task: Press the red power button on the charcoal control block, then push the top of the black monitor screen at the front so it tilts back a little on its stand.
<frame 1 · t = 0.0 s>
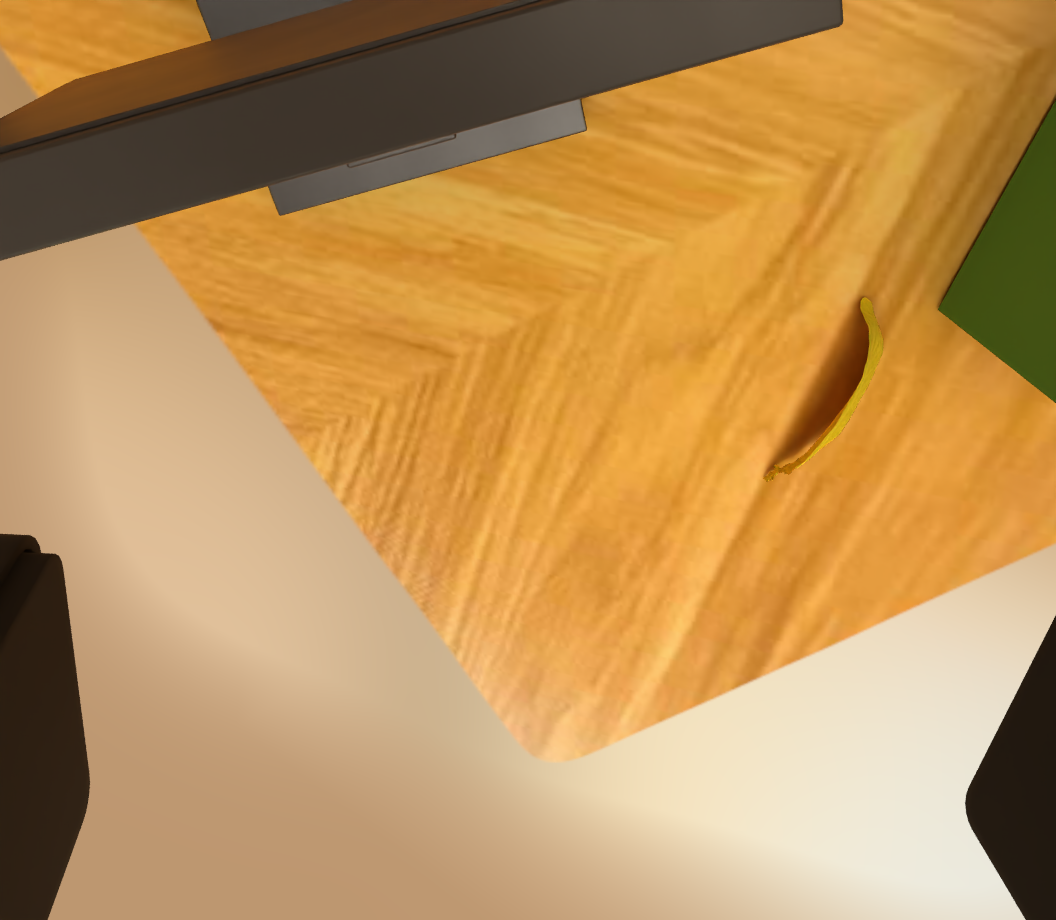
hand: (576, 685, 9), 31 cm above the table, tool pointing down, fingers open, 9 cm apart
monitor screen: (360, 59, 21), point 15 cm above the table, hinge at 0.0°
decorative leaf: (826, 396, 44), on the table
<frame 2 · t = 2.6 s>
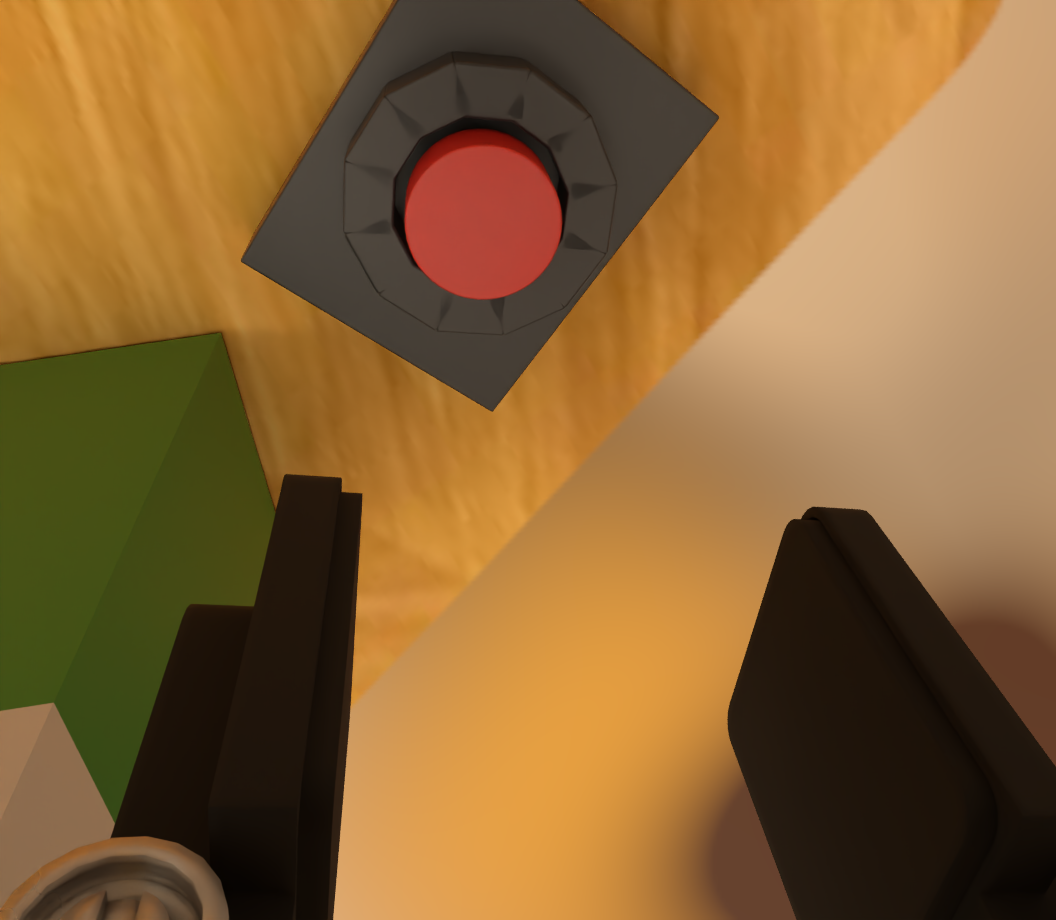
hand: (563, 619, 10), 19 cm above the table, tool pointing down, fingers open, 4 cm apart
power block: (472, 168, 27), on the table
power button: (481, 214, 23), point 4 cm above the table, slide at 0.1 cm
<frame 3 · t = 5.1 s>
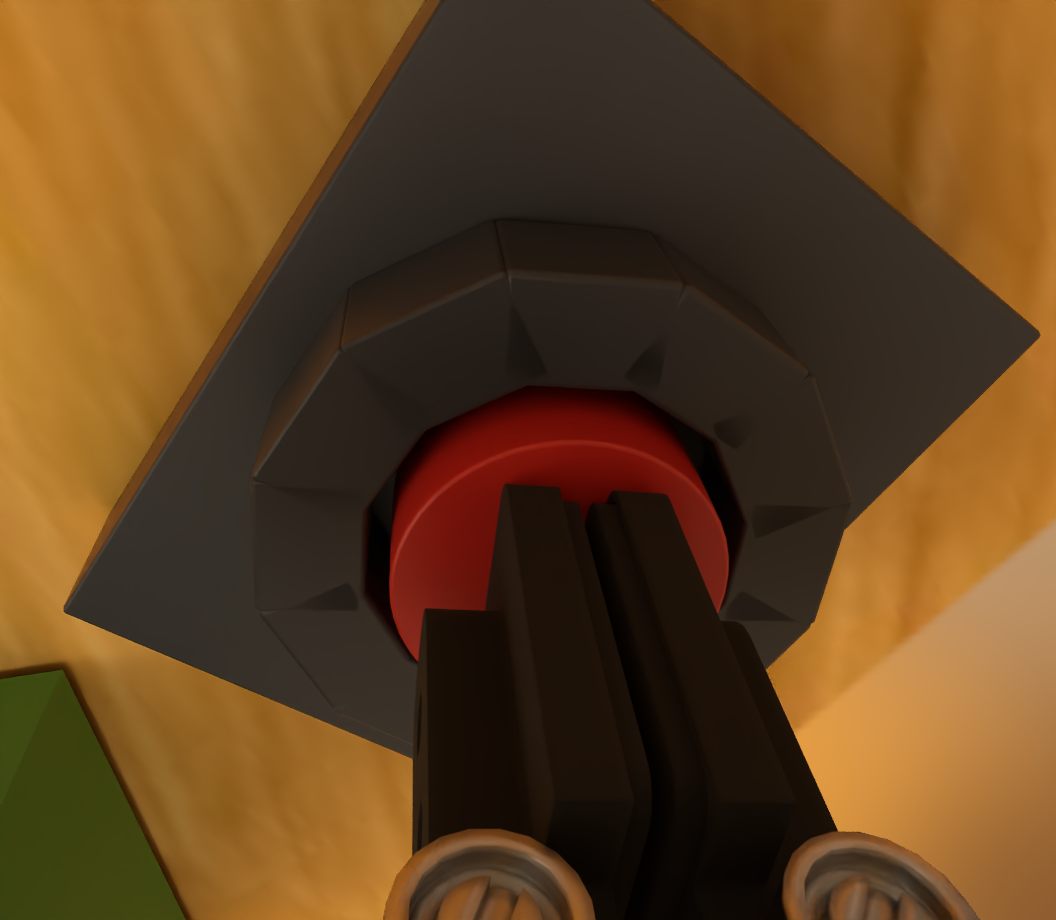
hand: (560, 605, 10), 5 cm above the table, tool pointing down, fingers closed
power block: (521, 395, 14), on the table
power button: (552, 542, 11), point 4 cm above the table, slide at -0.7 cm, touching gripper
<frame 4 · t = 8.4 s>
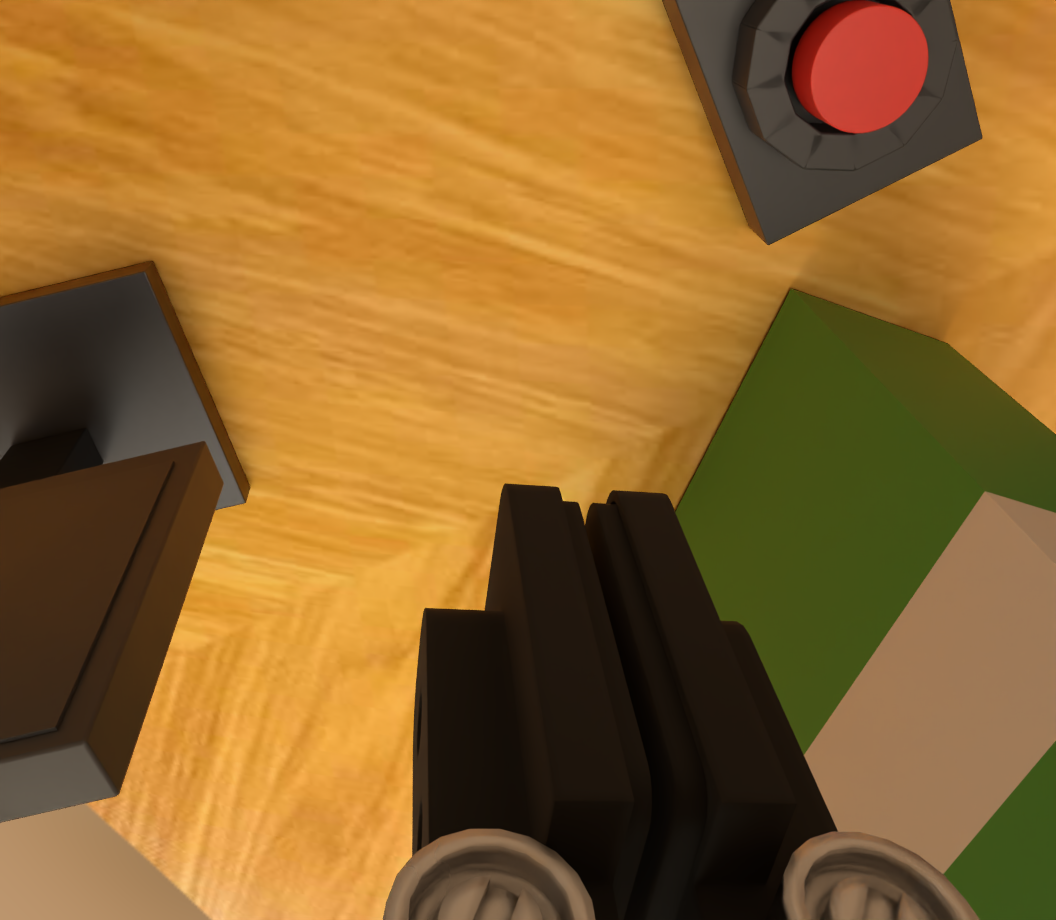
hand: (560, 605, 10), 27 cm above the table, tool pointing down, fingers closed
hardback book: (768, 493, 43), on the table
monitor stand: (44, 394, 37), on the table
power block: (807, 47, 33), on the table
power button: (858, 67, 30), point 4 cm above the table, slide at 0.1 cm
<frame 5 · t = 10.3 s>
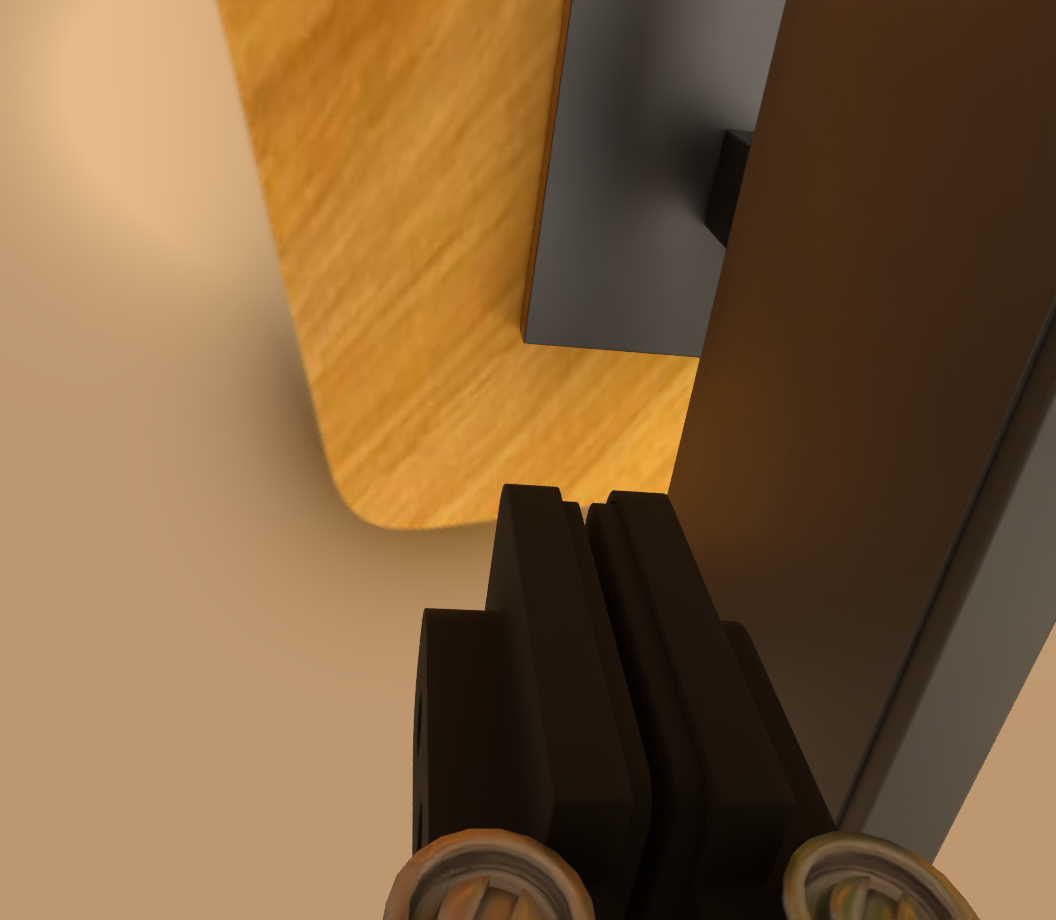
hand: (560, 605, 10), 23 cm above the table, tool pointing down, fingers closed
monitor screen: (855, 358, 18), point 15 cm above the table, hinge at 0.0°
monitor stand: (667, 164, 31), on the table
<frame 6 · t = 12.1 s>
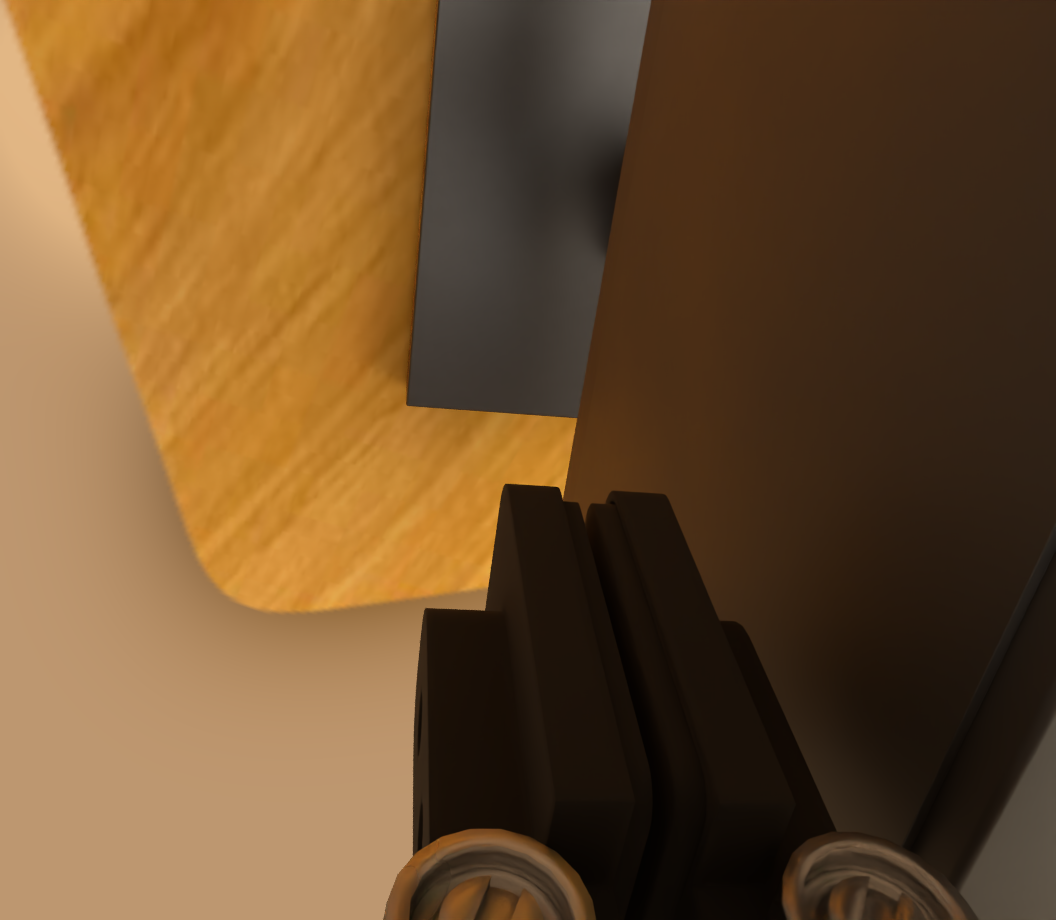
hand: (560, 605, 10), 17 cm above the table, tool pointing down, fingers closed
monitor screen: (748, 501, 13), point 15 cm above the table, hinge at 3.6°, touching gripper
monitor stand: (574, 195, 26), on the table
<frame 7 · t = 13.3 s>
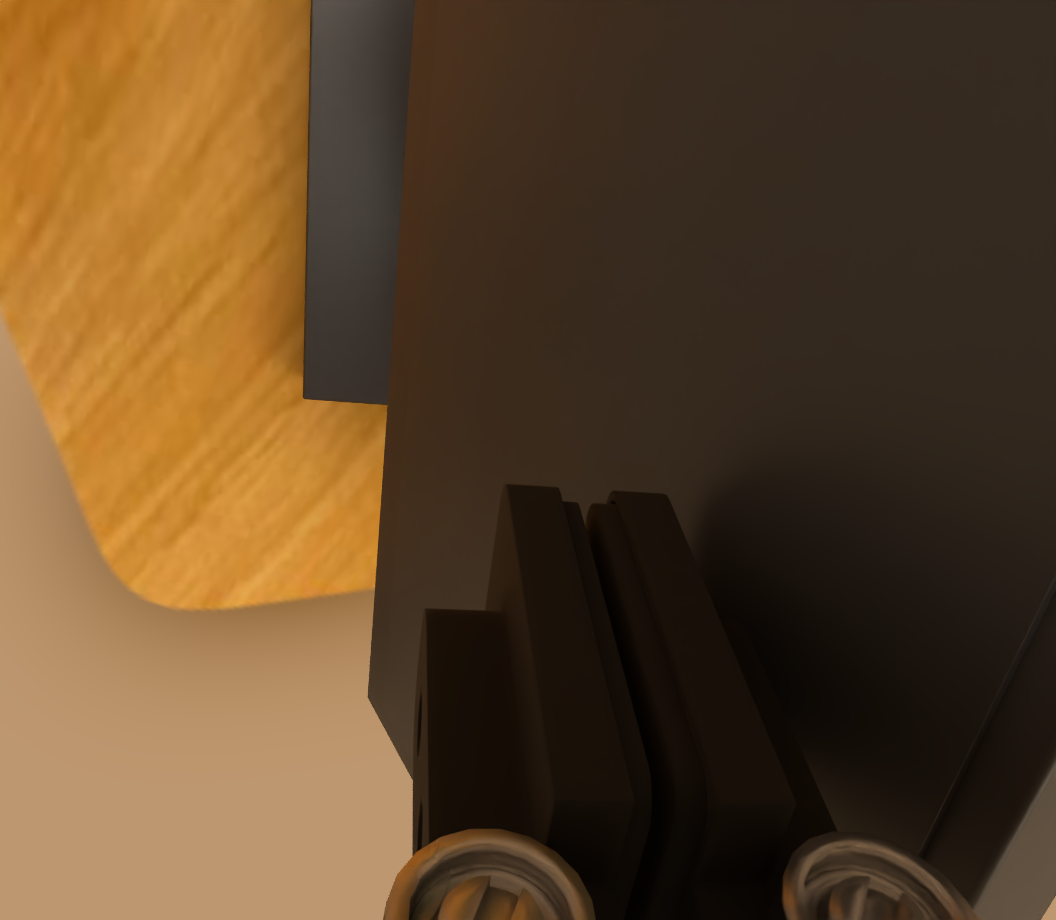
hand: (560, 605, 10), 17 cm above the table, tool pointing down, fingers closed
monitor screen: (624, 499, 12), point 15 cm above the table, hinge at 23.0°
monitor stand: (468, 183, 25), on the table
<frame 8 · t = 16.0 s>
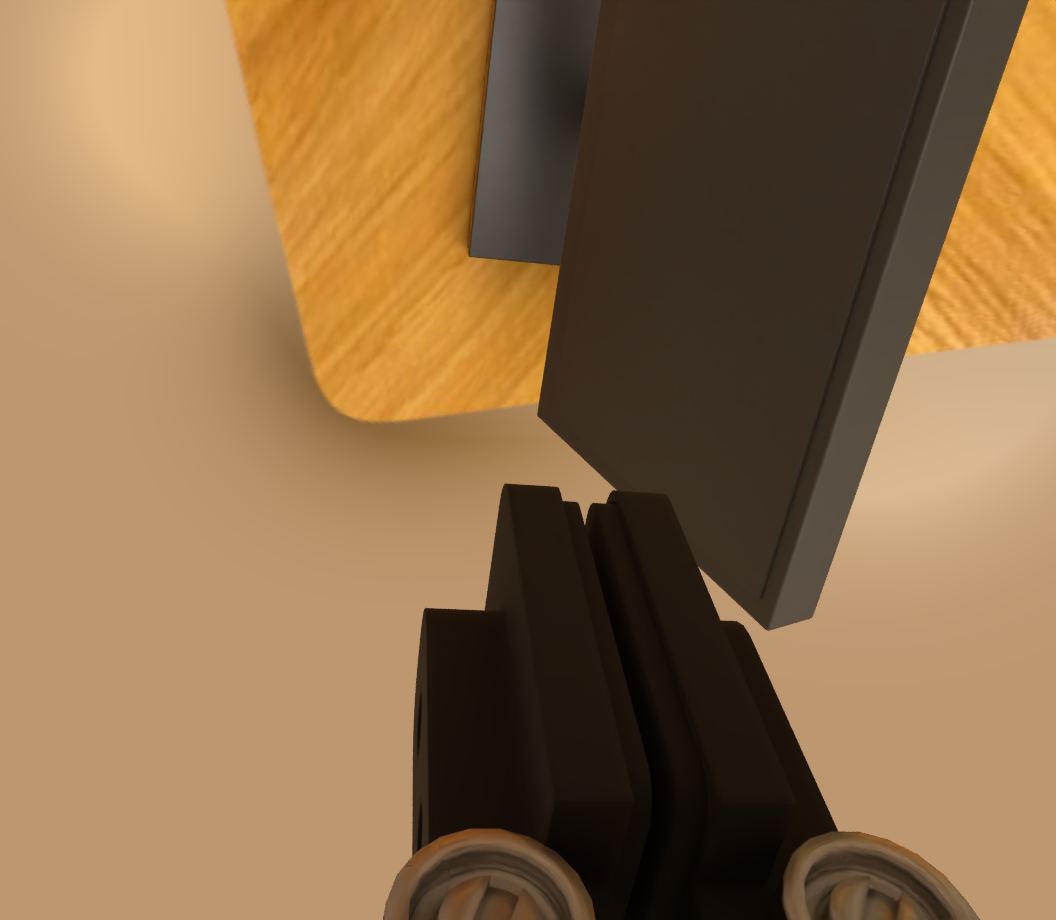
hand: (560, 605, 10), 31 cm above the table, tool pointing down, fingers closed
monitor screen: (718, 225, 25), point 15 cm above the table, hinge at 23.0°
monitor stand: (584, 108, 38), on the table
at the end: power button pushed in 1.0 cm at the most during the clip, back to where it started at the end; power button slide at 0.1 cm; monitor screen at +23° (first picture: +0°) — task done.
